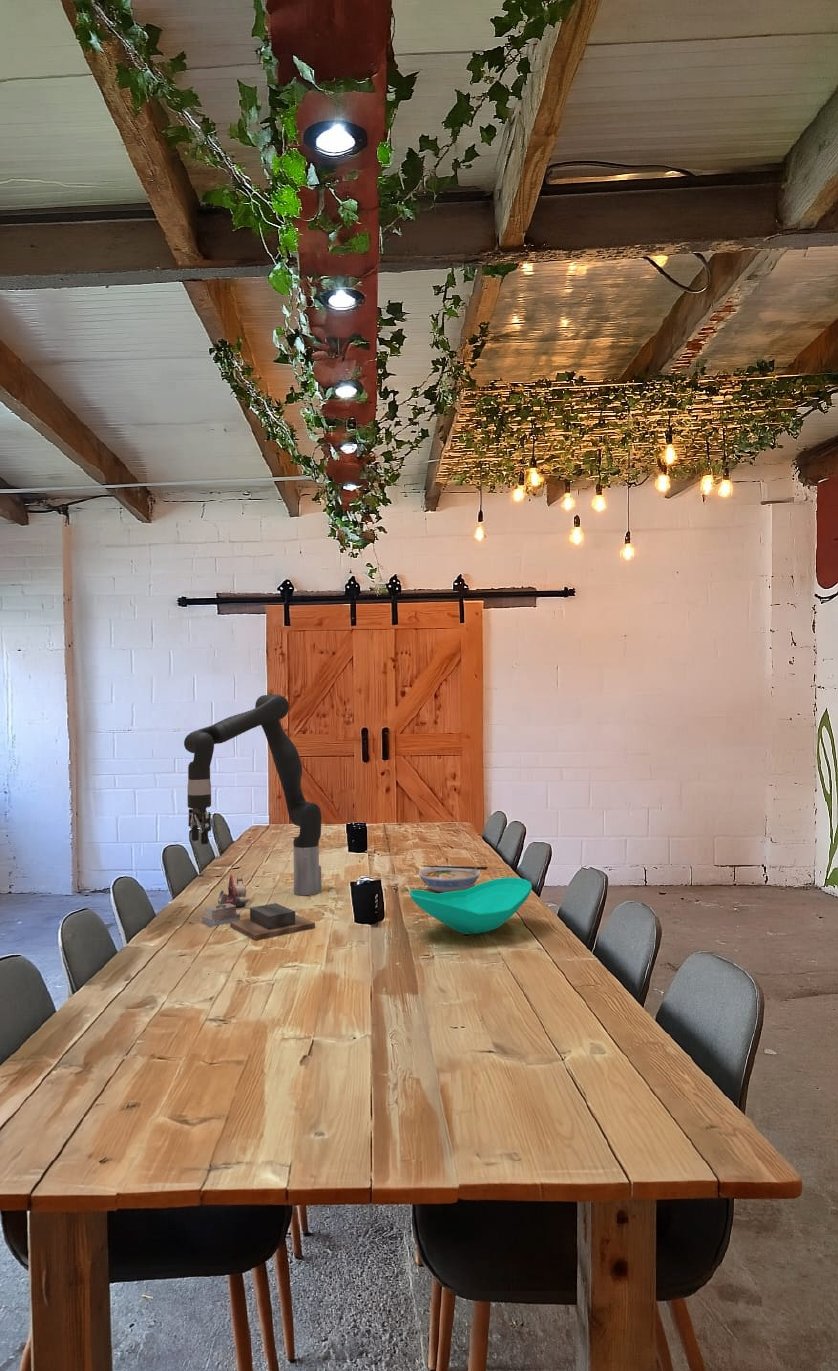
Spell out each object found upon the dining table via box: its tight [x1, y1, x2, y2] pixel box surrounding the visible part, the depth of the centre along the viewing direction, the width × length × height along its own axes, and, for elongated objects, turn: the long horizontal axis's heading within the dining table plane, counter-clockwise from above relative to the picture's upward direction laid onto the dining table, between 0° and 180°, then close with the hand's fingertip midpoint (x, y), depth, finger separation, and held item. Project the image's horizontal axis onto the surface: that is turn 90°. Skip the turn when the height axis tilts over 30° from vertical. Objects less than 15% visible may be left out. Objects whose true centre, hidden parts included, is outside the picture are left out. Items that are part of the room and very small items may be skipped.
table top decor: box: [409, 876, 533, 935], centre depth 235 cm, size 40×28×13 cm
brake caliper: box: [217, 873, 251, 911], centre depth 268 cm, size 11×11×12 cm
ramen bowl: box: [418, 865, 488, 893], centre depth 284 cm, size 25×23×8 cm
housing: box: [201, 903, 241, 928], centre depth 248 cm, size 10×6×5 cm, turn 127°
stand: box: [229, 902, 316, 941], centre depth 242 cm, size 20×18×6 cm
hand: (199, 842), depth 255 cm, fingers open, 8 cm apart
